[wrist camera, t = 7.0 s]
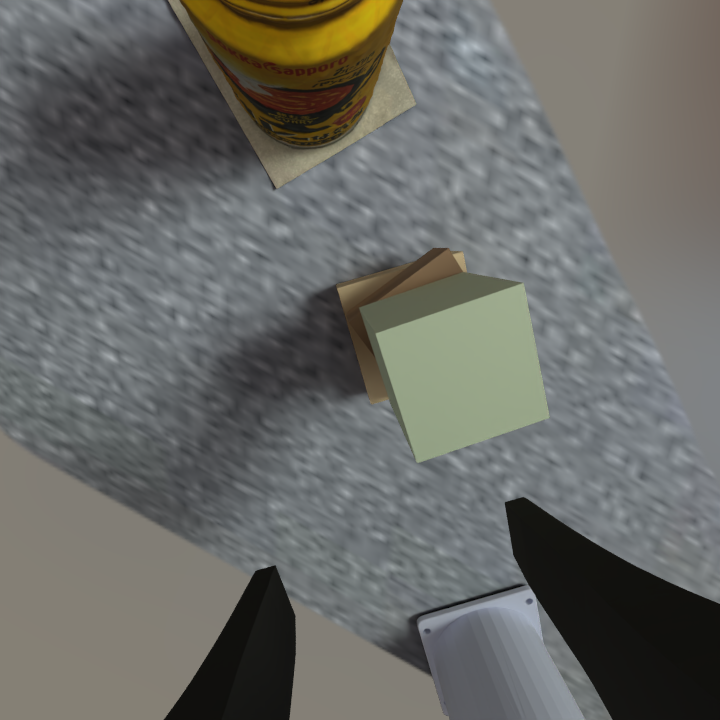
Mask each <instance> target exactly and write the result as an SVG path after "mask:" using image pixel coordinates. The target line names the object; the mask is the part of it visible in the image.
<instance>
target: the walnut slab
mask: <svg viewBox="0 0 720 720" xmlns="http://www.w3.org/2000/svg"><path fill="white" fill-rule="evenodd" d="M462 272H463V271H462V269H461V267H460V266H459V264H458V262H457V261H456V259H455V258H454V256H453V254H452V253H451V251H450V250H449V248H433V249H432V250H430V251H429V252H427V253H426V254H425V255H423V256H422V257H421V258H419V259H418V260H417V261H415V262H414V263H413V264H411V265H410V266H409V267H407V268H406V269H405V270H403V271H402V272H401V273H399V274H398V275H397V276H395V277H394V278H393V279H391V280H390V281H389V282H387V283H386V284H384V285H383V286H382V287H380V288H379V289H378V290H376V291H375V292H374V293H372V294H371V295H370V296H368V297H367V298H366V299H364V300H363V301H362V302H360V303H359V304H358V305H356V306H355V307H354V308H352V309H351V310H349V311H348V312H347V313H345V314H346V317H347V320H348V322H349V324H350V325H351V326H352V328H353V329H354V330H355V332H356V333H357V334H358V336H359V337H360V338H361V340H362V341H363V342H364V344H365V345H366V346H367V348H368V349H369V350H370V352H371V353H372V354H373V356H374V357H375V355H374V352H373V349H372V346H371V343H370V340H369V337H368V334H367V331H366V327H365V324H364V321H363V318H362V315H361V312H360V309H359V307H362V306H365V305H368V304H371V303H374V302H377V301H380V300H383V299H385V298H388V297H391V296H394V295H397V294H400V293H403V292H406V291H409V290H412V289H415V288H418V287H421V286H424V285H426V284H429V283H432V282H435V281H438V280H441V279H444V278H447V277H450V276H453V275H456V274H459V273H462Z"/></svg>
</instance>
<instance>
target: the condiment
mask: <svg viewBox="0 0 720 720" xmlns="http://www.w3.org/2000/svg"><path fill="white" fill-rule="evenodd" d="M168 1H169V3H170V5H171V6H172V8H173V10H174V12H175V13H176V15H177V17H178V19H179V20H180V22H181V24H182V25H183V27H184V29H185V31H186V32H187V34H188V36H189V38H190V39H191V41H192V43H193V45H194V46H195V48H196V49H197V51H198V53H199V55H200V57H201V58H202V60H203V62H204V64H205V65H206V67H207V69H208V71H209V72H210V74H211V76H212V78H213V79H214V81H215V83H216V84H217V86H218V88H219V90H220V91H221V93H222V95H223V97H224V98H225V100H226V102H227V103H228V105H229V107H230V109H231V110H232V112H233V114H234V116H235V117H236V119H237V121H238V123H239V124H240V126H241V128H242V129H243V131H244V133H245V135H246V136H247V138H248V140H249V142H250V143H251V145H252V147H253V149H254V150H255V152H256V154H257V156H258V157H259V159H260V161H261V162H262V164H263V166H264V168H265V169H266V171H267V173H268V175H269V176H270V178H271V180H272V182H273V183H274V185H275V187H276V189H277V188H279V187H281V186H283V185H284V184H286V183H287V182H289V181H291V180H292V179H294V178H296V177H297V176H300V175H301V174H303V173H304V172H306V171H307V170H309V169H311V168H313V167H314V166H316V165H318V164H319V163H321V162H323V161H324V160H326V159H328V158H329V157H331V156H333V155H334V154H336V153H338V152H339V151H341V150H343V149H344V148H346V147H347V146H349V145H351V144H352V143H354V142H356V141H357V140H359V139H361V138H362V137H364V136H366V135H367V134H369V133H370V132H372V131H374V130H375V129H377V128H378V127H380V126H382V125H383V124H385V123H386V122H388V121H390V120H391V119H393V118H395V117H396V116H398V115H400V114H401V113H403V112H404V111H406V110H408V109H409V108H411V107H413V106H415V105H416V102H415V100H414V97H413V95H412V93H411V91H410V88H409V86H408V84H407V82H406V80H405V77H404V75H403V73H402V71H401V69H400V67H399V64H398V62H397V60H396V57H395V55H394V52H393V50H392V48H391V46H390V40H391V36H392V34H393V32H394V27H395V22H396V19H397V16H398V14H399V11H400V8H401V5H402V2H403V0H168Z"/></svg>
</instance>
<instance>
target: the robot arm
mask: <svg viewBox="0 0 720 720" xmlns="http://www.w3.org/2000/svg"><path fill="white" fill-rule="evenodd" d="M505 507H506V513H507V519H508V525H509V531H510V537H511V543H512V549H513V555H514V557H515V559H516V561H517V563H518V565H519V567H520V569H521V571H522V573H523V575H524V577H525V579H526V581H527V582H528V584H529V586H527V585H526V586H522V587H518V588H515V589H512V590H508V591H505V592H501V593H498V594H494V595H491V596H488V597H484V598H481V599H477V600H474V601H470V602H467V603H464V604H460V605H457V606H453V607H450V608H446V609H443V610H440V611H436V612H433V613H429V614H426V615H423V616H420V617H419V618H418V619H417V626H418V630H419V633H420V636H421V640H422V643H423V646H424V650H425V653H426V657H427V660H428V663H429V667H430V670H431V673H432V677H433V680H434V683H435V687H436V690H437V694H438V696H439V700H440V704H441V707H442V710H443V713H444V714H445V715H446V716H449V719H450V720H585V718H584V716H583V714H582V712H581V711H580V709H579V707H578V705H577V703H576V702H575V700H574V698H573V696H572V694H571V693H570V691H569V689H568V687H567V685H566V684H565V682H564V680H563V678H562V676H561V675H560V673H559V671H558V669H557V667H556V666H555V664H554V662H553V660H552V658H551V656H550V655H549V653H548V651H547V649H546V647H545V646H544V643H543V638H542V632H541V626H540V620H539V614H538V608H537V602H536V598H537V599H538V601H539V602H540V604H541V605H542V607H543V608H544V610H545V611H546V613H547V614H548V616H549V617H550V619H551V620H552V622H553V623H554V625H555V626H556V628H557V629H558V631H559V632H560V634H561V635H562V637H563V639H564V640H565V642H566V643H567V645H568V646H569V648H570V649H571V651H572V652H573V654H574V655H575V657H576V658H577V660H578V661H579V663H580V664H581V666H582V667H583V669H584V671H585V672H586V674H587V675H588V677H589V679H590V680H591V682H592V684H593V685H594V687H595V689H596V691H597V692H598V694H599V696H600V698H601V700H602V701H603V703H604V705H605V707H606V709H607V710H608V712H609V714H610V716H611V718H612V719H613V720H720V604H719V603H716V602H714V601H711V600H709V599H707V598H704V597H702V596H699V595H697V594H695V593H692V592H690V591H687V590H685V589H683V588H680V587H678V586H676V585H674V584H671V583H669V582H667V581H665V580H663V579H661V578H659V577H657V576H655V575H653V574H651V573H649V572H646V571H644V570H642V569H640V568H638V567H636V566H634V565H633V564H631V563H629V562H627V561H625V560H623V559H621V558H620V557H618V556H616V555H614V554H613V553H611V552H609V551H607V550H605V549H604V548H602V547H600V546H599V545H597V544H595V543H594V542H592V541H590V540H589V539H587V538H586V537H584V536H582V535H581V534H579V533H578V532H576V531H574V530H573V529H571V528H570V527H568V526H567V525H565V524H563V523H562V522H560V521H559V520H557V519H556V518H554V517H553V516H551V515H550V514H548V513H547V512H546V511H544V510H543V509H541V508H540V507H538V506H537V505H535V504H534V503H532V502H531V501H529V500H528V499H526V498H525V497H522V498H519V499H515V500H511V501H508V502H505ZM295 629H296V628H295V614H294V611H293V609H292V606H291V604H290V601H289V598H288V596H287V593H286V591H285V588H284V586H283V583H282V581H281V578H280V576H279V573H278V571H277V568H276V565H275V566H271V567H268V568H264V569H260V570H257V571H256V572H255V573H254V575H253V577H252V578H251V580H250V582H249V584H248V586H247V587H246V589H245V591H244V593H243V595H242V597H241V599H240V600H239V602H238V604H237V606H236V607H235V610H234V611H233V613H232V615H231V616H230V618H229V620H228V622H227V623H226V626H225V627H224V629H223V631H222V632H221V634H220V636H219V637H218V639H217V641H216V642H215V644H214V646H213V647H212V649H211V651H210V652H209V654H208V655H207V657H206V659H205V660H204V662H203V663H202V665H201V667H200V668H199V670H198V671H197V673H196V675H195V676H194V678H193V679H192V681H191V682H190V684H189V685H188V687H187V688H186V690H185V691H184V692H183V694H182V695H181V697H180V698H179V700H178V701H177V702H176V704H175V705H174V707H173V708H172V709H171V711H170V712H169V713H168V715H167V716H166V718H165V719H164V720H289V717H290V708H291V697H292V688H293V677H294V666H295V655H296V631H295Z"/></svg>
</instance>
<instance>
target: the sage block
mask: <svg viewBox="0 0 720 720" xmlns="http://www.w3.org/2000/svg"><path fill="white" fill-rule="evenodd" d="M359 309H360V312H361V315H362V318H363V321H364V324H365V327H366V331H367V334H368V337H369V340H370V343H371V346H372V349H373V352H374V355H375V358H376V361H377V364H378V367H379V370H380V373H381V376H382V379H383V382H384V385H385V388H386V392H387V395H388V398H389V401H390V404H391V406H392V408H393V410H394V413H395V415H396V417H397V419H398V422H399V424H400V426H401V428H402V431H403V433H404V435H405V437H406V439H407V442H408V444H409V446H410V448H411V451H412V453H413V455H414V457H415V460H416V462H417V463H419V462H422V461H425V460H428V459H431V458H434V457H437V456H440V455H443V454H446V453H449V452H451V451H454V450H457V449H460V448H463V447H466V446H469V445H472V444H475V443H478V442H481V441H484V440H486V439H489V438H492V437H495V436H498V435H501V434H504V433H507V432H510V431H513V430H516V429H519V428H521V427H524V426H527V425H530V424H533V423H536V422H539V421H542V420H545V419H548V418H550V417H549V412H548V407H547V401H546V396H545V391H544V386H543V381H542V376H541V370H540V365H539V360H538V355H537V350H536V345H535V339H534V334H533V329H532V324H531V319H530V314H529V309H528V303H527V298H526V293H525V288H524V283H521V282H515V281H510V280H504V279H499V278H493V277H488V276H482V275H477V274H471V273H466V272H462V273H459V274H456V275H453V276H450V277H447V278H444V279H441V280H438V281H435V282H432V283H429V284H426V285H424V286H421V287H418V288H415V289H412V290H409V291H406V292H403V293H400V294H397V295H394V296H391V297H388V298H385V299H383V300H380V301H377V302H374V303H371V304H368V305H365V306H362V307H359Z"/></svg>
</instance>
